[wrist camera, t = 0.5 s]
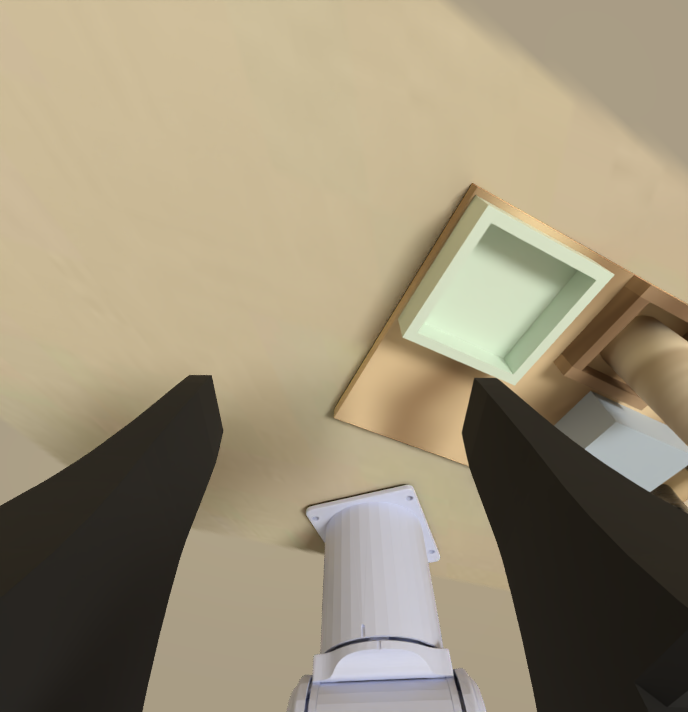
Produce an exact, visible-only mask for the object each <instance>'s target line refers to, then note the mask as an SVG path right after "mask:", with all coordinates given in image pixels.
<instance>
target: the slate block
mask: <svg viewBox="0 0 688 712" xmlns="http://www.w3.org/2000/svg"><path fill="white" fill-rule="evenodd" d="M554 426H555V427H556V428H558V429H559V430H560V431H561V432H563V433H564V434H565V435H566V436H568V437H569V438H570V439H572V440H573V441H574V442H576V443H577V444H578V445H580V446H581V447H582V448H584V449H585V450H587V451H588V452H589V453H591V454H592V455H593V456H595V457H596V458H598V459H599V460H600V461H602V462H603V463H605V464H606V465H608V466H609V467H611V468H612V469H614V470H615V471H617V472H619V473H620V474H622V475H623V476H625V477H626V478H628V479H629V480H631V481H632V482H634V483H636V484H637V485H639V486H640V487H642V488H644V489H645V490H647V491H649V492H651V491H652V490H654V489H655V488H657V487H658V486H659V485H661V484H662V483H664V482H665V481H666V480H668V479H669V478H671V477H672V476H673V475H675V474H676V473H678V472H679V471H680V470H682V469H683V468H685V467H686V466H687V465H688V446H687V445H686V444H685V443H684V442H683V441H682V440H681V439H680V438H679V437H678V436H677V435H676V434H675V433H674V432H673V431H672V430H671V429H670V428H669V427H668V426H667V425H665V424H663V423H661V422H659V421H657V420H654V419H652V418H650V417H648V416H645V415H643V414H641V413H639V412H637V411H634V410H632V409H630V408H628V407H626V406H623V405H621V404H619V403H617V402H614V401H612V400H610V399H608V398H606V397H603V396H601V395H599V394H597V393H594V392H592V391H590V392H589V393H588V394H587V395H585V396H584V397H583V398H582V399H581V400H580V401H579V402H578V403H577V404H576V405H575V406H574V407H573V408H572V409H571V410H570V411H569V412H568V413H567V414H566V415H565V416H564V417H563V418H561V419H560V420H559V421H558V422H557V423H556V424H555V425H554Z"/></svg>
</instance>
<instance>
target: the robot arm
mask: <svg viewBox="0 0 688 712" xmlns="http://www.w3.org/2000/svg"><path fill="white" fill-rule="evenodd" d="M222 434H223V427H222V422H221V418H220V413H219V408H218V403H217V399H216V394H215V389H214V385H213V380H212V375H189V376H188V377H186V378H185V379H184V380H182V381H181V382H180V383H179V384H177V385H176V386H175V387H174V388H173V389H171V390H170V391H169V392H168V393H166V394H165V395H164V396H163V397H162V398H160V399H159V400H158V401H157V402H156V403H154V404H153V405H152V406H151V407H149V408H148V409H147V410H146V411H144V412H143V413H142V414H141V415H139V416H138V417H137V418H136V419H135V420H133V421H132V422H131V423H129V424H128V425H127V426H125V427H124V428H123V429H121V430H120V431H119V432H117V433H116V434H115V435H113V436H112V437H110V438H109V439H108V440H106V441H105V442H104V443H102V444H101V445H100V446H98V447H97V448H95V449H94V450H93V451H91V452H90V453H88V454H87V455H85V456H84V457H82V458H81V459H79V460H78V461H76V462H75V463H73V464H71V465H70V466H68V467H67V468H65V469H63V470H62V471H60V472H59V473H57V474H56V475H54V476H52V477H51V478H49V479H47V480H46V481H44V482H42V483H40V484H39V485H37V486H35V487H33V488H31V489H30V490H28V491H26V492H24V493H22V494H21V495H19V496H17V497H15V498H13V499H12V500H10V501H8V502H6V503H4V504H3V505H1V506H0V712H142V710H143V706H144V700H145V696H146V691H147V687H148V682H149V678H150V674H151V669H152V665H153V661H154V656H155V652H156V648H157V643H158V639H159V635H160V631H161V627H162V623H163V619H164V616H165V612H166V608H167V604H168V600H169V596H170V592H171V589H172V585H173V582H174V578H175V574H176V571H177V567H178V564H179V560H180V557H181V553H182V550H183V548H184V545H185V542H186V539H187V536H188V534H189V531H190V529H191V526H192V523H193V521H194V518H195V516H196V513H197V511H198V508H199V505H200V503H201V500H202V498H203V495H204V493H205V490H206V487H207V485H208V482H209V480H210V477H211V474H212V472H213V469H214V466H215V463H216V460H217V456H218V452H219V448H220V443H221V439H222ZM462 437H463V442H464V447H465V452H466V456H467V460H468V464H469V468H470V470H471V473H472V476H473V479H474V482H475V484H476V487H477V490H478V493H479V495H480V498H481V501H482V503H483V506H484V509H485V512H486V514H487V517H488V520H489V522H490V525H491V528H492V530H493V533H494V536H495V539H496V541H497V544H498V547H499V551H500V554H501V557H502V560H503V564H504V568H505V572H506V575H507V579H508V583H509V587H510V591H511V594H512V598H513V603H514V607H515V611H516V615H517V620H518V623H519V628H520V632H521V636H522V641H523V645H524V650H525V655H526V659H527V664H528V669H529V673H530V678H531V682H532V687H533V692H534V697H535V702H536V708H537V712H688V514H687V513H686V512H684V511H682V510H680V509H679V508H677V507H675V506H673V505H671V504H670V503H668V502H666V501H664V500H663V499H661V498H659V497H657V496H655V495H654V494H652V493H650V492H649V491H647V490H645V489H644V488H642V487H640V486H639V485H637V484H636V483H634V482H632V481H631V480H629V479H628V478H626V477H625V476H623V475H622V474H620V473H619V472H617V471H615V470H614V469H612V468H611V467H609V466H608V465H606V464H605V463H603V462H602V461H600V460H599V459H598V458H596V457H595V456H593V455H592V454H591V453H589V452H588V451H587V450H585V449H584V448H582V447H581V446H580V445H578V444H577V443H576V442H574V441H573V440H572V439H570V438H569V437H568V436H566V435H565V434H564V433H563V432H561V431H560V430H559V429H558V428H556V427H555V426H554V425H553V424H551V423H550V422H549V421H548V420H546V419H545V418H544V417H543V416H542V415H540V414H539V413H538V412H537V411H536V410H534V409H533V408H532V407H531V406H530V405H529V404H527V403H526V402H525V401H524V400H523V399H522V398H520V397H519V396H518V395H517V394H516V393H514V392H513V391H512V390H511V389H510V388H509V387H507V386H506V385H505V384H504V383H503V382H501V381H500V380H499V379H497V378H474V381H473V385H472V390H471V394H470V398H469V403H468V407H467V411H466V416H465V420H464V424H463V428H462ZM306 515H307V517H308V518H309V520H310V522H311V523H312V525H313V526H314V528H315V529H316V531H317V532H318V534H319V535H320V537H321V538H322V540H323V541H324V543H325V558H324V581H323V604H322V627H321V629H322V630H321V650H320V651H321V652H320V654H316V655H314V660H313V675H304V676H302V677H301V679H300V681H299V683H298V684H297V686H296V687H295V688H294V690H293V691H292V693H291V696H290V699H289V702H288V707H287V712H486V708H485V705H484V701H483V698H482V696H481V693H480V690H479V688H478V685H477V684H476V682H475V681H474V680H473V679H472V678H471V677H470V676H468V674H467V672H466V671H465V670H464V669H463V668H458V669H452V664H451V658H450V653H449V650H448V649H447V648H443V643H442V636H441V630H440V625H439V619H438V614H437V608H436V602H435V597H434V591H433V586H432V580H431V574H430V569H429V563H430V562H435V561H438V560H439V559H440V554H439V551H438V548H437V546H436V543H435V541H434V538H433V536H432V533H431V531H430V528H429V526H428V523H427V520H426V518H425V515H424V513H423V510H422V508H421V505H420V503H419V500H418V497H417V495H416V492H415V490H414V488H413V486H411V485H403V486H399V487H394V488H390V489H385V490H381V491H376V492H372V493H367V494H363V495H359V496H354V497H350V498H345V499H341V500H336V501H332V502H327V503H323V504H318V505H314V506H310V507H308V508H307V510H306Z"/></svg>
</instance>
